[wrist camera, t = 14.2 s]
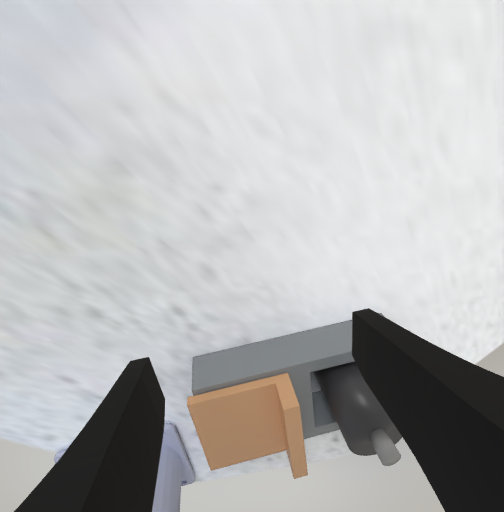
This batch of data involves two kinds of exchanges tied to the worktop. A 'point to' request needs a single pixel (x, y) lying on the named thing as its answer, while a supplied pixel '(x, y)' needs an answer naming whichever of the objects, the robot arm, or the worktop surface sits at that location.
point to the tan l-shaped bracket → (250, 423)
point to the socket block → (282, 368)
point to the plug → (359, 413)
